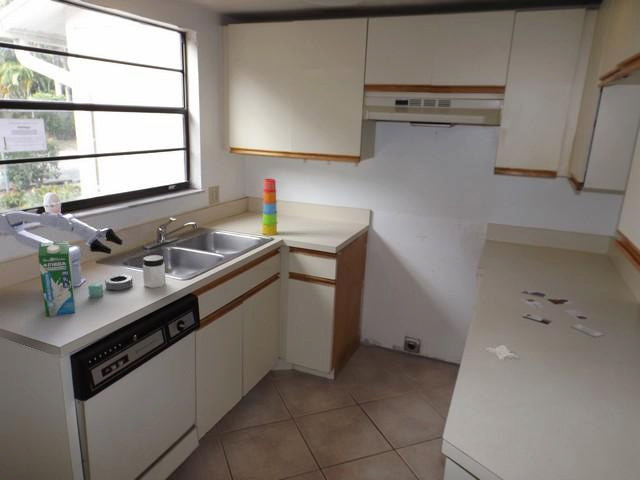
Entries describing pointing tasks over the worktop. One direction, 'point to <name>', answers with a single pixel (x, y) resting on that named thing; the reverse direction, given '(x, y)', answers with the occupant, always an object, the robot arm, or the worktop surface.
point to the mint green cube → (95, 290)
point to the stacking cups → (269, 208)
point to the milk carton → (56, 278)
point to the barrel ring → (118, 282)
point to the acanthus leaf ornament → (502, 352)
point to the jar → (154, 271)
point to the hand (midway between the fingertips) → (116, 247)
